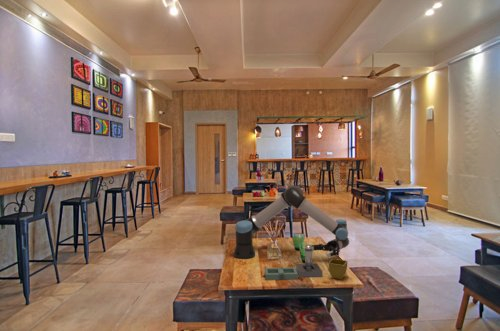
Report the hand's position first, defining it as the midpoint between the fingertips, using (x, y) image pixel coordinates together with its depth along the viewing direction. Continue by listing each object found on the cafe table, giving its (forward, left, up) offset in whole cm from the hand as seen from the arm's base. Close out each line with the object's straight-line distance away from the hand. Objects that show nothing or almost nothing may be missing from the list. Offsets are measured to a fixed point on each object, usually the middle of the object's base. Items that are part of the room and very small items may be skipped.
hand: (317, 253), depth 184 cm
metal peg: (+7, -7, -9) cm, 13 cm away
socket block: (+7, -7, -9) cm, 13 cm away
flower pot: (+15, +8, -9) cm, 19 cm away
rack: (+11, -24, -9) cm, 28 cm away
